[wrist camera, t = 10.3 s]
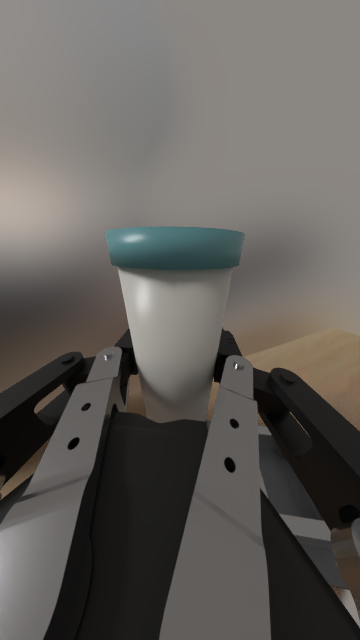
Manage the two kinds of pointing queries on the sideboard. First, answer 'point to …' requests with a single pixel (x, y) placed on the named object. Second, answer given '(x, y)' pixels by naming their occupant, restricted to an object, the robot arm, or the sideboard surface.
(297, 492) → the filter housing
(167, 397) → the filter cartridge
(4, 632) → the robot arm
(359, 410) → the sideboard surface
